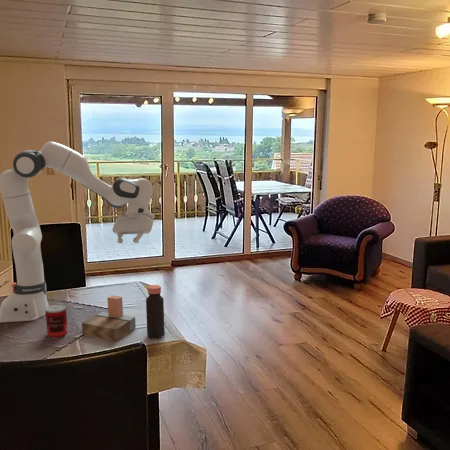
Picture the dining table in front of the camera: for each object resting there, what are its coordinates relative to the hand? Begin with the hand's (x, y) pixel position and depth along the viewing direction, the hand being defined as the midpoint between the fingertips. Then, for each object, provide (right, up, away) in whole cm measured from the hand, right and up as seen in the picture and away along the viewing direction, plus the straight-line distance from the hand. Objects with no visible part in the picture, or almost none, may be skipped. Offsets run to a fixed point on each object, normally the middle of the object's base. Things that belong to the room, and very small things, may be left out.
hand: (127, 242), depth 206 cm
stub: (-3, -34, -9) cm, 36 cm away
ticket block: (-5, -36, -15) cm, 39 cm away
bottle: (+15, -36, -17) cm, 43 cm away
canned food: (-25, -36, -15) cm, 46 cm away
